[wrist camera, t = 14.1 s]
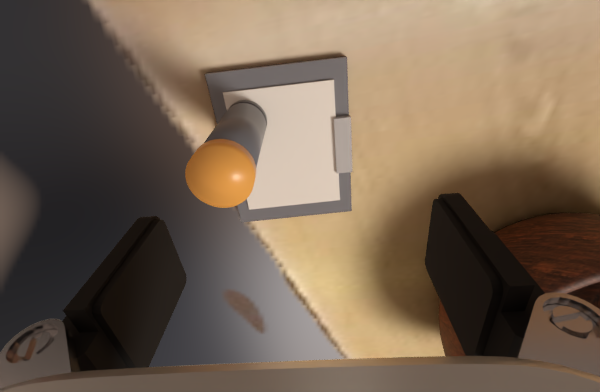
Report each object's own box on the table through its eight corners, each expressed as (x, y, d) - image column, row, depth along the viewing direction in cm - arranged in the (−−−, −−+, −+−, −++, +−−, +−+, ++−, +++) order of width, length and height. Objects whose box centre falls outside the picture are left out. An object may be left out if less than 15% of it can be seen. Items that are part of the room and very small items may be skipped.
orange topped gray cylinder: (263, 95, 25) (245, 142, 16) (271, 138, 26) (259, 203, 17) (219, 102, 25) (176, 151, 16) (230, 144, 27) (197, 211, 18)
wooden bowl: (610, 328, 42) (696, 412, 33) (423, 359, 44) (456, 445, 35) (676, 163, 30) (842, 226, 21) (413, 218, 32) (460, 295, 23)
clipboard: (346, 56, 24) (349, 57, 23) (351, 207, 31) (353, 213, 30) (206, 72, 25) (203, 75, 24) (242, 218, 31) (240, 225, 31)
